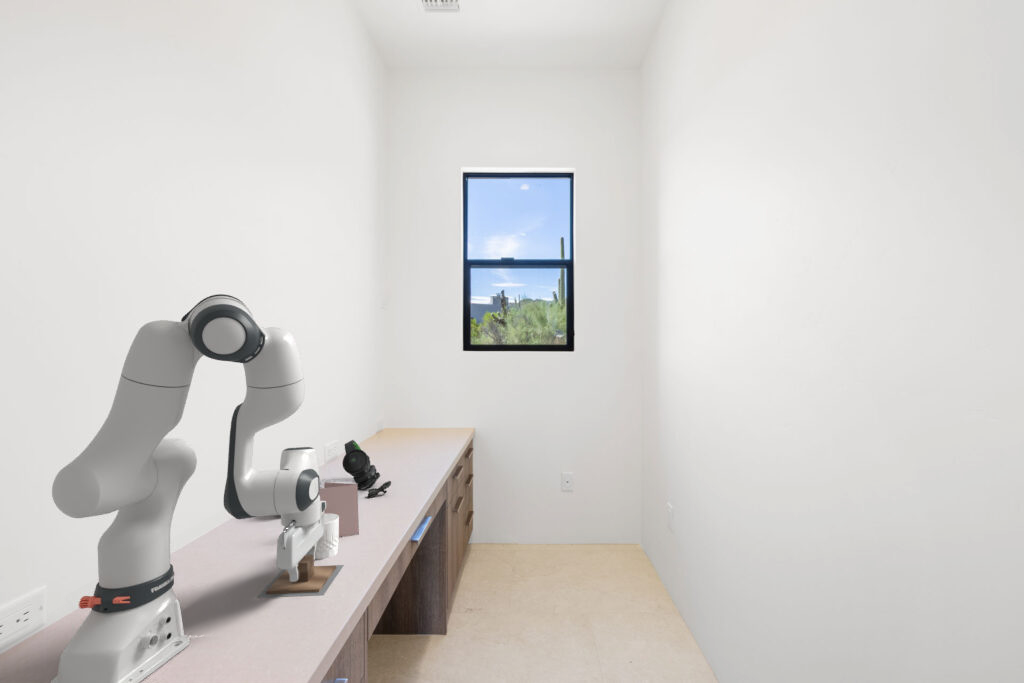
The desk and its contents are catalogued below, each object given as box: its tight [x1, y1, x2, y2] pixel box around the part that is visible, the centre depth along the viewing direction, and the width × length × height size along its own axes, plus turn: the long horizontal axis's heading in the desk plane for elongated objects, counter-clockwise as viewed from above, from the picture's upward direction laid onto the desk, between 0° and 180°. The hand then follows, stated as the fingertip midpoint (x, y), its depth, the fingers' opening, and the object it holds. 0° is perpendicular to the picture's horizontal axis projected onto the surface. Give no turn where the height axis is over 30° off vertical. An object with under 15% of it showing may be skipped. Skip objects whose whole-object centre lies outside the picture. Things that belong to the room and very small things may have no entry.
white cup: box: [315, 514, 340, 560], centre depth 136 cm, size 8×8×10 cm
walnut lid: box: [266, 555, 336, 594], centre depth 121 cm, size 12×12×5 cm
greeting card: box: [319, 481, 360, 538], centre depth 149 cm, size 11×7×15 cm, turn 74°
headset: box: [342, 439, 392, 498], centre depth 196 cm, size 18×14×29 cm
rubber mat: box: [256, 564, 344, 599], centre depth 121 cm, size 15×15×1 cm
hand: (302, 570), depth 121 cm, fingers open, 8 cm apart
